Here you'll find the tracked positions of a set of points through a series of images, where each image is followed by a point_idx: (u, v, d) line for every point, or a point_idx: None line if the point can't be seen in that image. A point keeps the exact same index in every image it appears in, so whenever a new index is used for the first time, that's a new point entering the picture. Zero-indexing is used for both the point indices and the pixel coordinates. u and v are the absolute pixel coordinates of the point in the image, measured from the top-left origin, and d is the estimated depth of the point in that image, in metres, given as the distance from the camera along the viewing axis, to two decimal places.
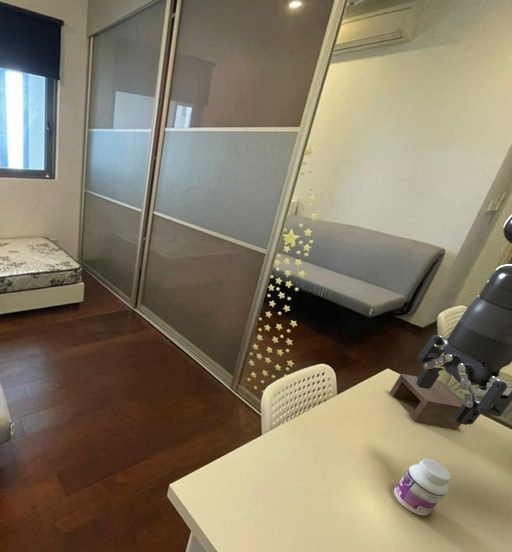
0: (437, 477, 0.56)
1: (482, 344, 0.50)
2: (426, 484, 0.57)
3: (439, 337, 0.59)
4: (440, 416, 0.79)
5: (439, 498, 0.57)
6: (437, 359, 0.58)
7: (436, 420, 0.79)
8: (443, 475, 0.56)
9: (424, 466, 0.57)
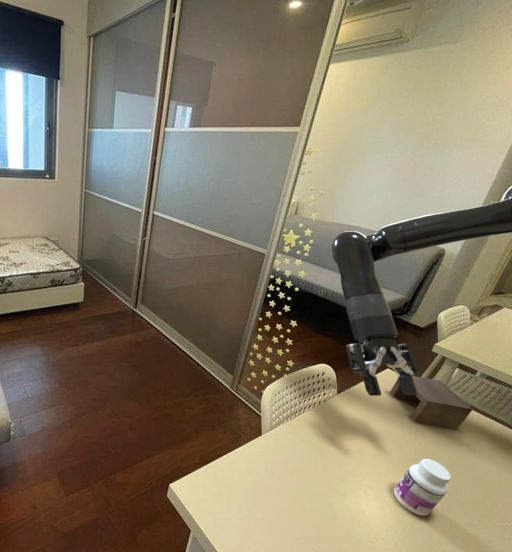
0: (437, 477, 0.56)
1: (351, 327, 0.72)
2: (426, 484, 0.57)
3: None
4: (440, 416, 0.79)
5: (439, 498, 0.57)
6: None
7: (436, 420, 0.79)
8: (443, 475, 0.56)
9: (424, 466, 0.57)
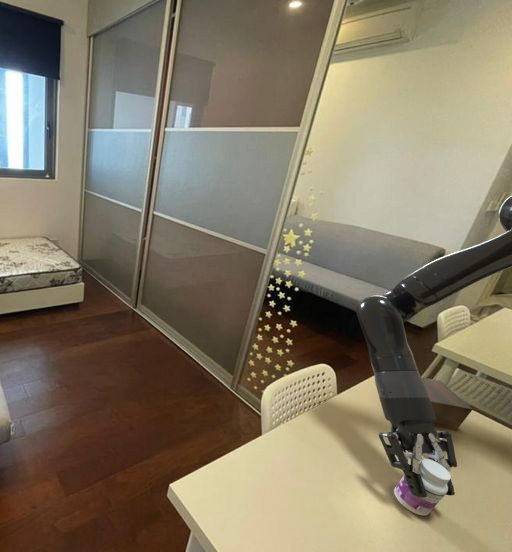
0: (437, 477, 0.56)
1: None
2: (426, 484, 0.57)
3: None
4: (440, 416, 0.79)
5: (439, 498, 0.57)
6: None
7: (436, 420, 0.79)
8: (443, 475, 0.56)
9: (424, 466, 0.57)
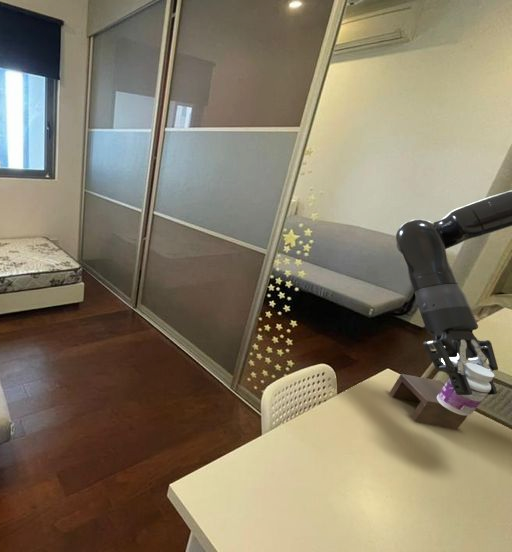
0: (482, 375, 0.60)
1: (423, 320, 0.69)
2: (470, 383, 0.61)
3: None
4: (440, 416, 0.79)
5: (483, 396, 0.60)
6: None
7: (436, 420, 0.79)
8: (487, 373, 0.60)
9: (468, 367, 0.61)
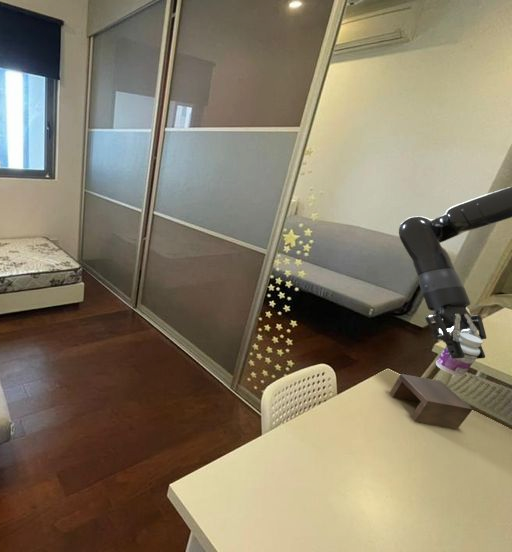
0: (472, 341, 0.73)
1: (425, 299, 0.82)
2: (463, 348, 0.74)
3: None
4: (440, 416, 0.79)
5: (473, 358, 0.74)
6: None
7: (436, 420, 0.79)
8: (477, 340, 0.74)
9: (461, 336, 0.75)
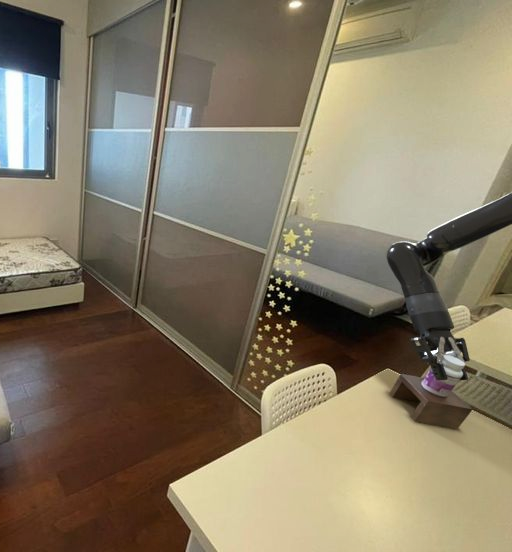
0: (455, 364, 0.77)
1: (411, 321, 0.85)
2: (447, 371, 0.78)
3: None
4: (440, 416, 0.79)
5: (456, 380, 0.77)
6: None
7: (436, 420, 0.79)
8: (459, 363, 0.77)
9: (445, 358, 0.78)
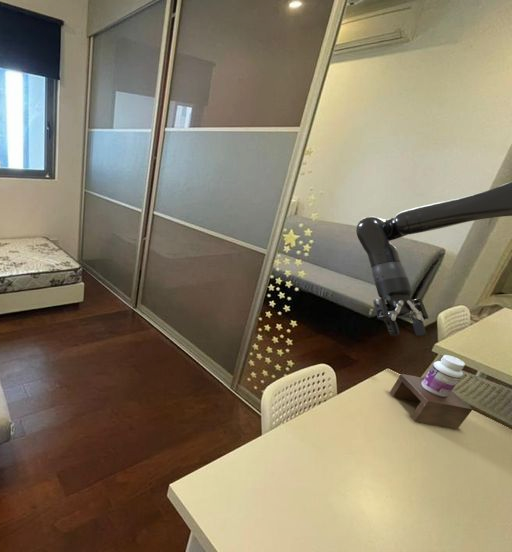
0: (455, 364, 0.77)
1: None
2: (446, 371, 0.78)
3: None
4: (440, 416, 0.79)
5: (456, 380, 0.77)
6: None
7: (436, 420, 0.79)
8: (459, 363, 0.77)
9: (445, 358, 0.78)
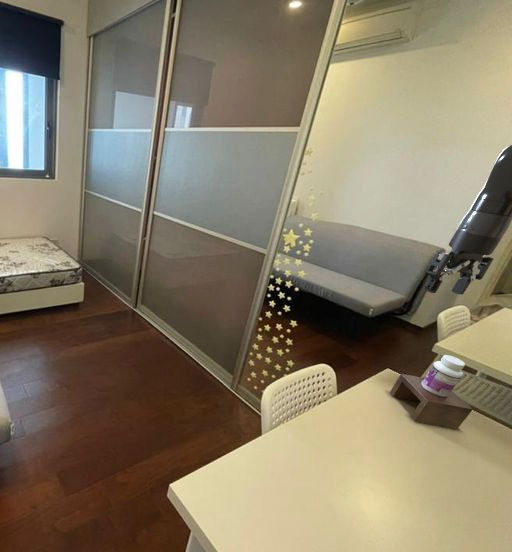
0: (455, 364, 0.77)
1: (454, 235, 0.78)
2: (446, 371, 0.78)
3: None
4: (440, 416, 0.79)
5: (456, 380, 0.77)
6: None
7: (436, 420, 0.79)
8: (459, 363, 0.77)
9: (445, 358, 0.78)
